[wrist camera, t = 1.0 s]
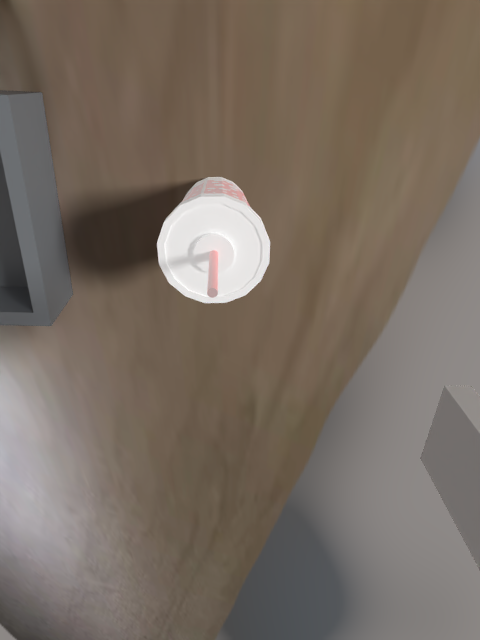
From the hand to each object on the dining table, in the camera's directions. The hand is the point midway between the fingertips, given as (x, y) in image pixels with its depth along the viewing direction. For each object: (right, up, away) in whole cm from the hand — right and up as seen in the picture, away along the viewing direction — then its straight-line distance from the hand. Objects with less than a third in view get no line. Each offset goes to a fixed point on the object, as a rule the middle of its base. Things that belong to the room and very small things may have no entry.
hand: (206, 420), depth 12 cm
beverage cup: (-1, +11, +19) cm, 22 cm away
